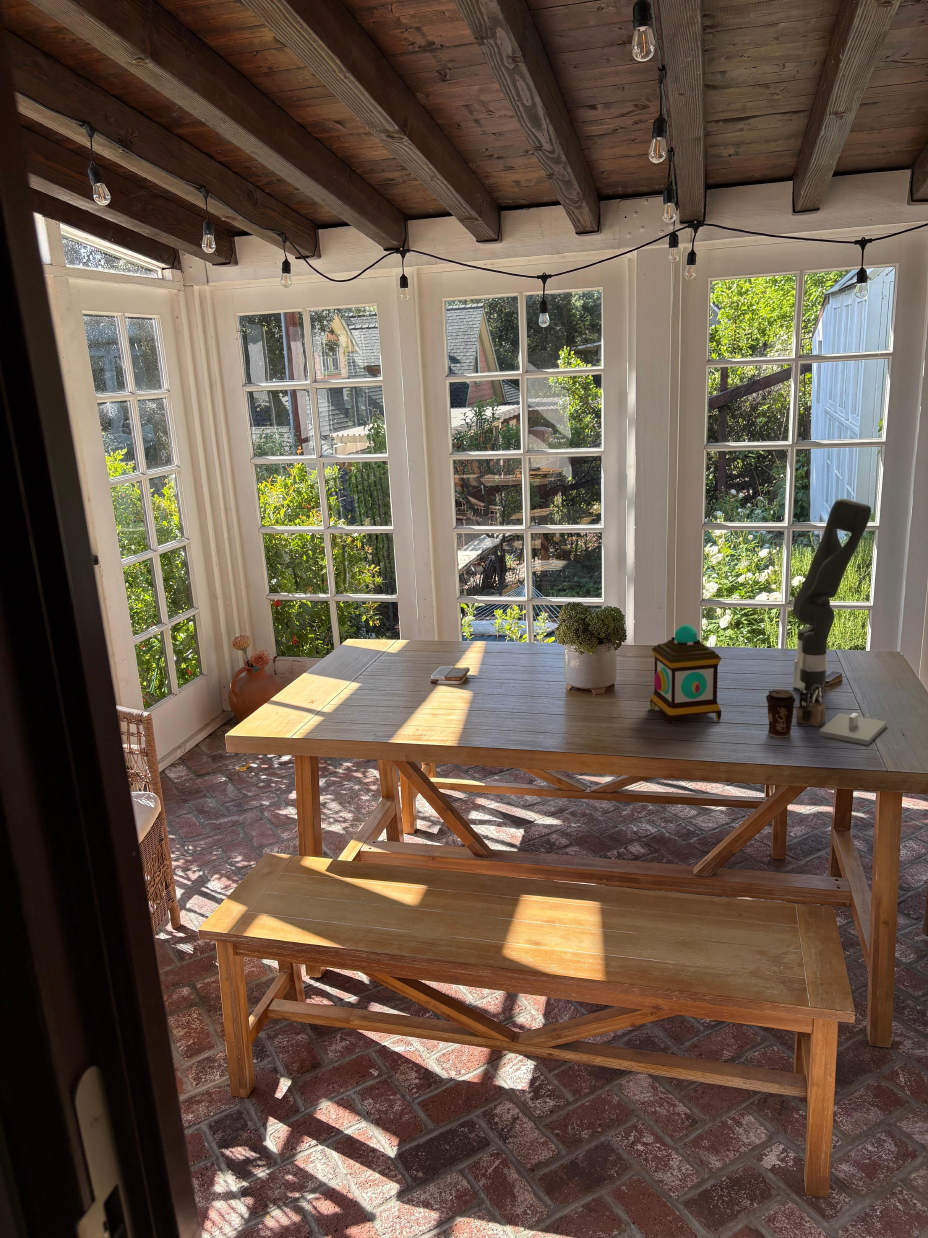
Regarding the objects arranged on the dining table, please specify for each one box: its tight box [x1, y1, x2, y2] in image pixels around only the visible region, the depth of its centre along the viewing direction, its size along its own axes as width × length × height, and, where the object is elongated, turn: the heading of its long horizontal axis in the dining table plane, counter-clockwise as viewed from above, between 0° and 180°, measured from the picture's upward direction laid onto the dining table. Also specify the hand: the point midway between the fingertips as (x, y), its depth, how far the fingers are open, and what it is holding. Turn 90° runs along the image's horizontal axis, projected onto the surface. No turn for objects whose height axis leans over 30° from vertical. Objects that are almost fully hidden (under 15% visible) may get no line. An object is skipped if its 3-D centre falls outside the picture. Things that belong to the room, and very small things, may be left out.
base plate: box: [818, 712, 888, 746], centre depth 272 cm, size 14×18×2 cm
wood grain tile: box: [848, 712, 859, 728], centre depth 272 cm, size 1×4×4 cm, turn 140°
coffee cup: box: [765, 689, 796, 739], centre depth 272 cm, size 9×8×13 cm
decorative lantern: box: [649, 624, 722, 726], centre depth 289 cm, size 20×20×30 cm
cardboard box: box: [796, 702, 826, 727], centre depth 281 cm, size 7×6×6 cm
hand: (810, 716), depth 281 cm, fingers open, 8 cm apart
